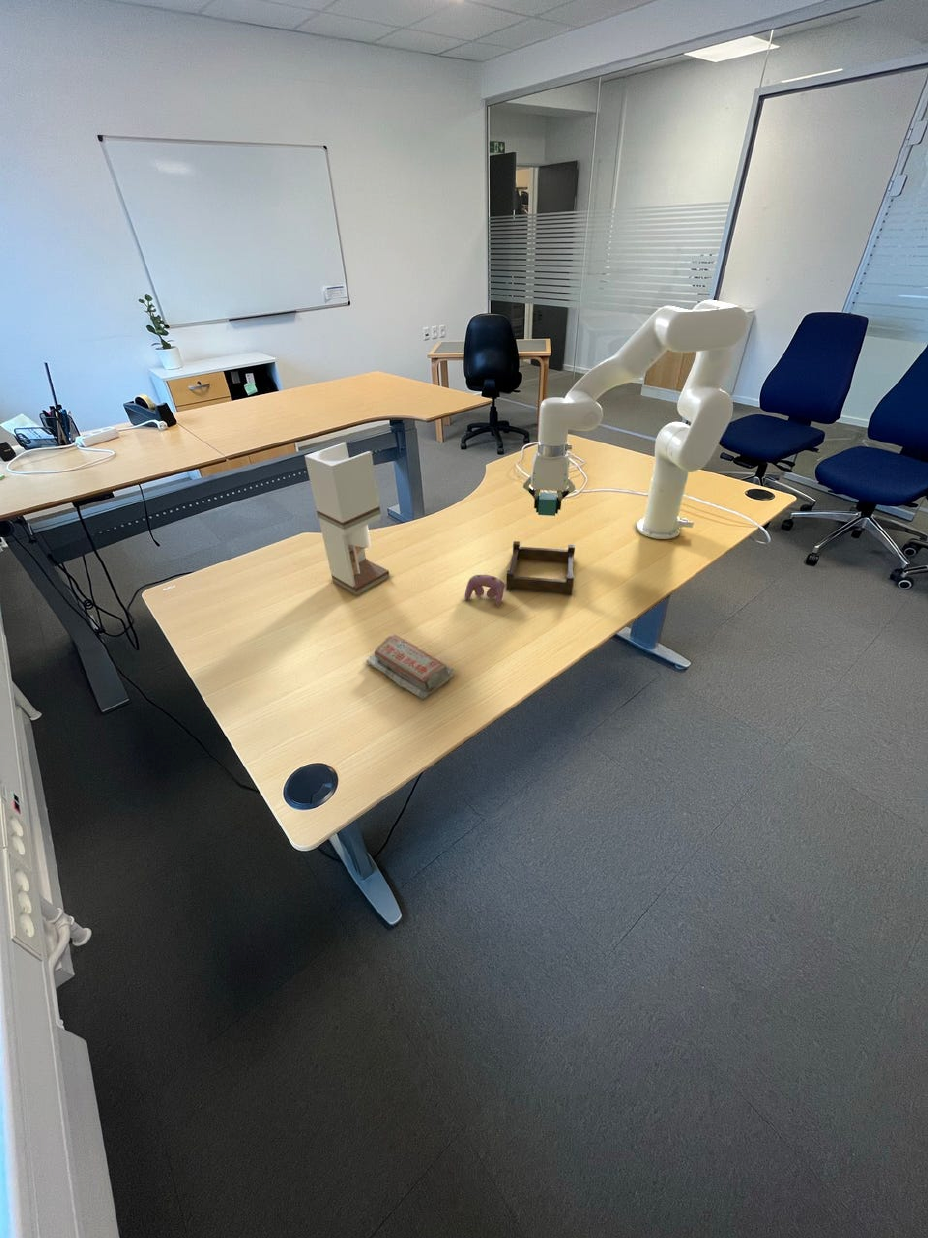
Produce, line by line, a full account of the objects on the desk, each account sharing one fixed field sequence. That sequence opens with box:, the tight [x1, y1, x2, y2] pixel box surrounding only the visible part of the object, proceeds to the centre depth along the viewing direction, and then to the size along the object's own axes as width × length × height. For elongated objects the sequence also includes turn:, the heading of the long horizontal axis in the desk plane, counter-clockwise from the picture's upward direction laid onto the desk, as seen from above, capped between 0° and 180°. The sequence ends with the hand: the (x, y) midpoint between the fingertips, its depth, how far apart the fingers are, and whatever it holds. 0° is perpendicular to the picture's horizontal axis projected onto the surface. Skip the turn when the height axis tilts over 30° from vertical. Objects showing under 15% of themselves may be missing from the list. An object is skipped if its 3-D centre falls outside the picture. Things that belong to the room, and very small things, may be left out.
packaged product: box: [365, 634, 455, 701], centre depth 112 cm, size 18×5×10 cm
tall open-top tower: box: [304, 441, 390, 596], centre depth 132 cm, size 11×11×35 cm
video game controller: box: [464, 574, 506, 607], centre depth 132 cm, size 10×5×7 cm, turn 71°
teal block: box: [537, 491, 558, 517], centre depth 147 cm, size 5×5×5 cm
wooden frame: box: [505, 540, 576, 596], centre depth 140 cm, size 17×17×5 cm
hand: (547, 510), depth 149 cm, fingers closed on teal block, 4 cm apart
